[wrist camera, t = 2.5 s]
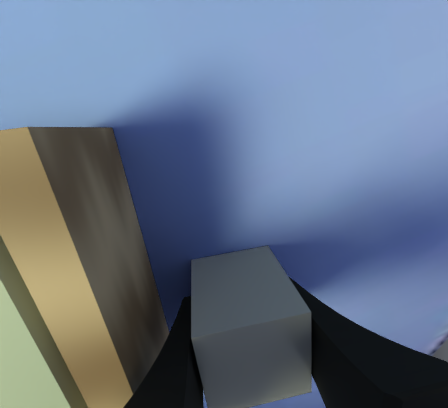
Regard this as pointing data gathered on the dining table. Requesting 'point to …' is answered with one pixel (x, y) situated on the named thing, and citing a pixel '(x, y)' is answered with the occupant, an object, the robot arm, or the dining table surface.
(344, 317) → the robot arm
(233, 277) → the gray block
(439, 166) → the dining table surface
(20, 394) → the hatch
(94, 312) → the hatch frame
